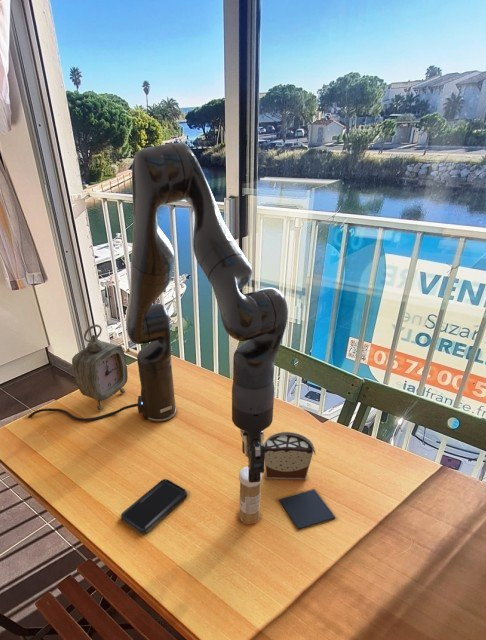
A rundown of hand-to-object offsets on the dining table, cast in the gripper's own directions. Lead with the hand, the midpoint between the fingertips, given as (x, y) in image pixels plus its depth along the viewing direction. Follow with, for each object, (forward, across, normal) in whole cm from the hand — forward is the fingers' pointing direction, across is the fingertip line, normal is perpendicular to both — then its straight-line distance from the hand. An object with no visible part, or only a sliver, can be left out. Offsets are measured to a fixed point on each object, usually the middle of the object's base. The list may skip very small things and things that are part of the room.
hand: (250, 466), depth 91 cm
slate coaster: (+15, -1, +13) cm, 20 cm away
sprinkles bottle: (+15, 0, 0) cm, 15 cm away
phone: (+15, -5, -21) cm, 26 cm away
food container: (+15, -14, +11) cm, 24 cm away
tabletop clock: (+15, -52, -37) cm, 65 cm away
